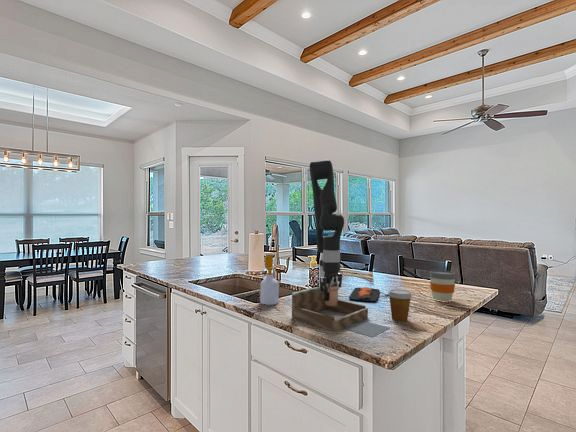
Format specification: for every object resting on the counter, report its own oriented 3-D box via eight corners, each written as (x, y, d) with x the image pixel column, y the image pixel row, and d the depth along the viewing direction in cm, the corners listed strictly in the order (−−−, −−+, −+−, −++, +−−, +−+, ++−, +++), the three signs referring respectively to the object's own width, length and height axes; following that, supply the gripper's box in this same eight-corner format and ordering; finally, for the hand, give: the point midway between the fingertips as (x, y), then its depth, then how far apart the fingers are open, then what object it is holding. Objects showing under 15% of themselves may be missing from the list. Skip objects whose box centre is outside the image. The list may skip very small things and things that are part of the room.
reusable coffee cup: (457, 304, 162) (457, 275, 162) (430, 302, 166) (430, 273, 166) (453, 298, 174) (453, 271, 174) (428, 296, 178) (428, 269, 178)
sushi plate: (355, 290, 194) (355, 283, 194) (407, 294, 184) (407, 288, 184) (347, 302, 167) (348, 294, 167) (409, 307, 157) (409, 300, 157)
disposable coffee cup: (406, 316, 141) (406, 289, 141) (415, 323, 132) (415, 294, 132) (384, 316, 141) (385, 288, 141) (392, 323, 132) (392, 294, 132)
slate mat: (363, 321, 134) (363, 320, 134) (390, 328, 126) (390, 327, 126) (344, 329, 124) (344, 328, 124) (372, 337, 116) (372, 336, 116)
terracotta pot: (329, 301, 142) (329, 277, 142) (341, 303, 138) (341, 279, 137) (320, 304, 137) (320, 279, 137) (332, 307, 133) (333, 281, 133)
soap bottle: (262, 305, 155) (263, 255, 155) (258, 301, 164) (259, 253, 164) (280, 304, 157) (280, 254, 157) (275, 300, 166) (276, 252, 166)
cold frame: (325, 307, 154) (326, 284, 154) (367, 317, 138) (368, 292, 138) (291, 318, 136) (291, 293, 136) (335, 331, 121) (335, 303, 121)
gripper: (333, 257, 145) (333, 294, 145) (314, 261, 135) (313, 300, 135) (348, 259, 140) (347, 297, 140) (328, 263, 129) (328, 304, 130)
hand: (331, 299), depth 137 cm, fingers closed on terracotta pot, 5 cm apart
